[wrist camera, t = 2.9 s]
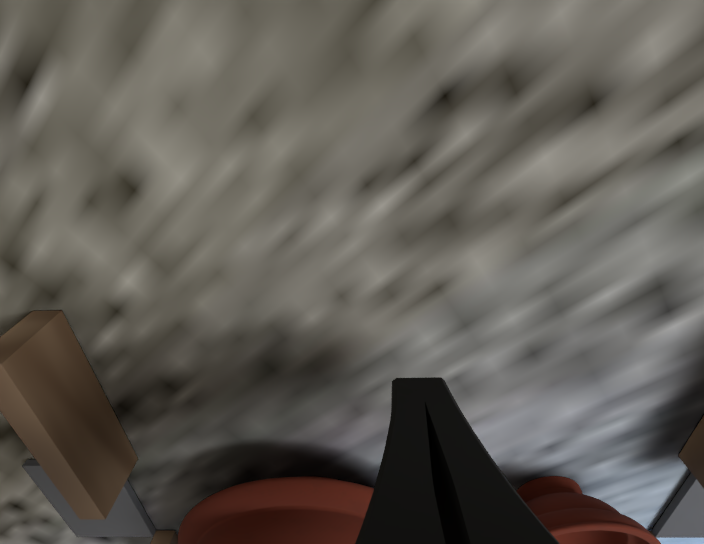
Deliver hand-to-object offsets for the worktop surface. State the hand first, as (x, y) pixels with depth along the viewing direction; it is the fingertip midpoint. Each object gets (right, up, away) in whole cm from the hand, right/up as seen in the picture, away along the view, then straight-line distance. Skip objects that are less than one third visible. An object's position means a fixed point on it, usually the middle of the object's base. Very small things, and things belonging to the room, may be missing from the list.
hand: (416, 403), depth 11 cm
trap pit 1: (-14, -7, +8) cm, 18 cm away
